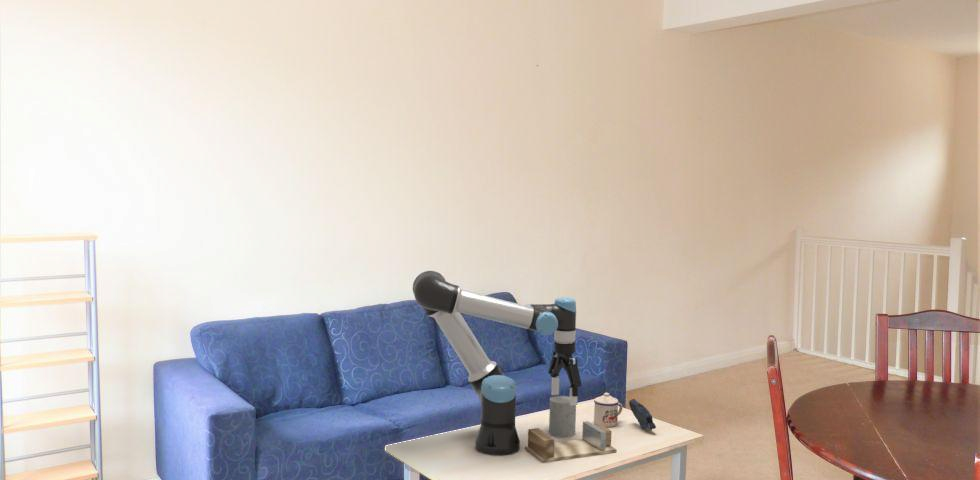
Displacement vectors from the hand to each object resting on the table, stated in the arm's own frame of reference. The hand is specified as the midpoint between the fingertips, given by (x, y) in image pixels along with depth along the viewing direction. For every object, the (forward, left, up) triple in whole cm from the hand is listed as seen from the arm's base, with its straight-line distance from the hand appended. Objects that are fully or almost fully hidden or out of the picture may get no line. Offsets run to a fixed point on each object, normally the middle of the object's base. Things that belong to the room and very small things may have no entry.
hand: (564, 399), depth 278 cm
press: (-6, -17, -12) cm, 22 cm away
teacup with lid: (+22, +4, -12) cm, 25 cm away
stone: (+30, -6, -12) cm, 33 cm away
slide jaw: (+5, -17, -11) cm, 21 cm away
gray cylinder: (0, 0, -12) cm, 12 cm away
